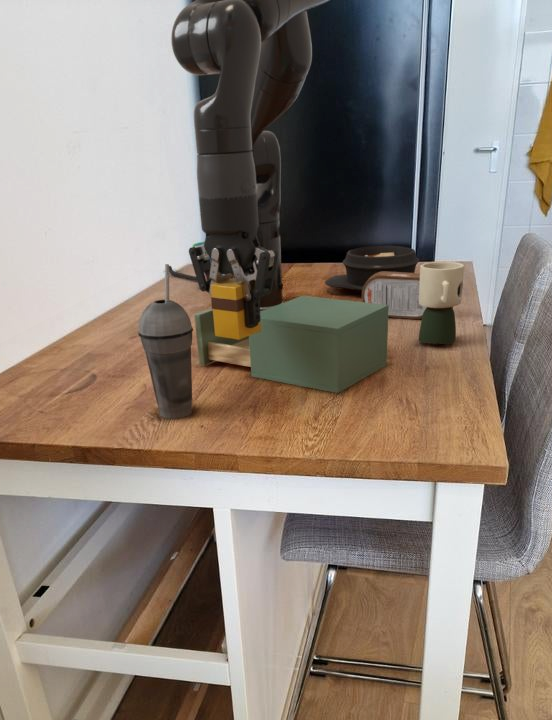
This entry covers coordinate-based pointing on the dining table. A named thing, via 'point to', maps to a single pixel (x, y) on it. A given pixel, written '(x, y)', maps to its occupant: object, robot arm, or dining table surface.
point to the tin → (395, 293)
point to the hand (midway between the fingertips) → (237, 324)
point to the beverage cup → (168, 354)
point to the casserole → (373, 265)
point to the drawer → (219, 343)
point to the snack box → (230, 310)
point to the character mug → (440, 300)
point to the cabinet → (320, 342)
